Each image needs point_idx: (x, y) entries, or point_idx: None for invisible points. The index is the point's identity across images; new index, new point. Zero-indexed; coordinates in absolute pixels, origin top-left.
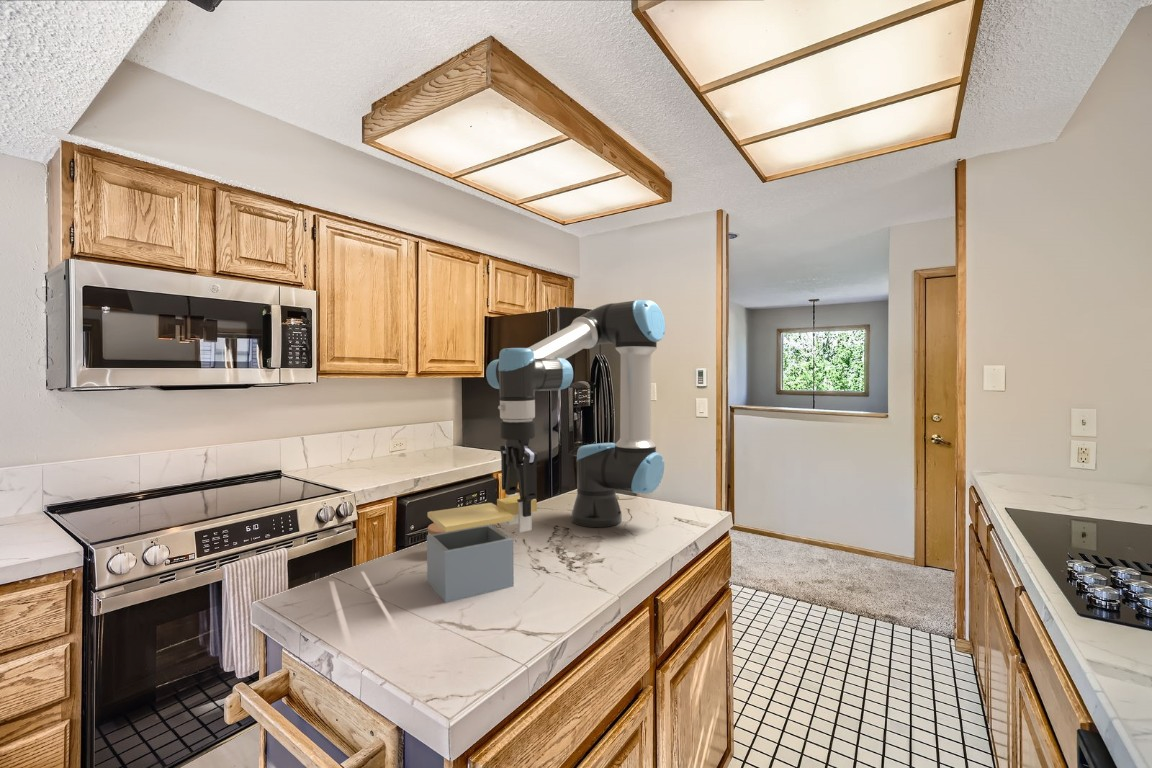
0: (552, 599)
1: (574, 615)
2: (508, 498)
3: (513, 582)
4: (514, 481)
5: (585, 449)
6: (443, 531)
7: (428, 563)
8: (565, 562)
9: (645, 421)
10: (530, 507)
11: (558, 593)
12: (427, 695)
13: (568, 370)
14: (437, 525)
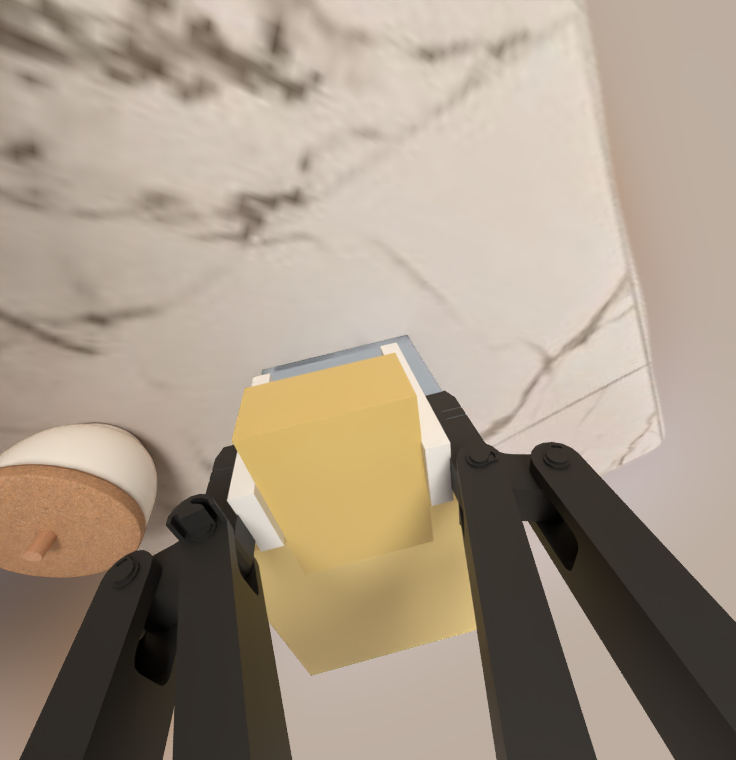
0: (485, 250)
1: (587, 224)
2: (309, 534)
3: (414, 347)
4: (254, 632)
5: None
6: (133, 543)
7: None
8: (205, 75)
9: None
10: (471, 424)
11: (462, 221)
12: (612, 464)
13: None
14: (59, 562)
